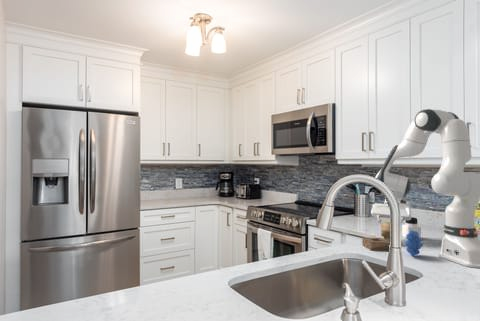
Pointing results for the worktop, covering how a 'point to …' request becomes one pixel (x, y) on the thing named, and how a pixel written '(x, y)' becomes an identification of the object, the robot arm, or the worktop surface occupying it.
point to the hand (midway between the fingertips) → (388, 223)
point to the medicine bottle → (411, 227)
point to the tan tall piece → (385, 230)
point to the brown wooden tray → (376, 244)
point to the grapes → (413, 243)
